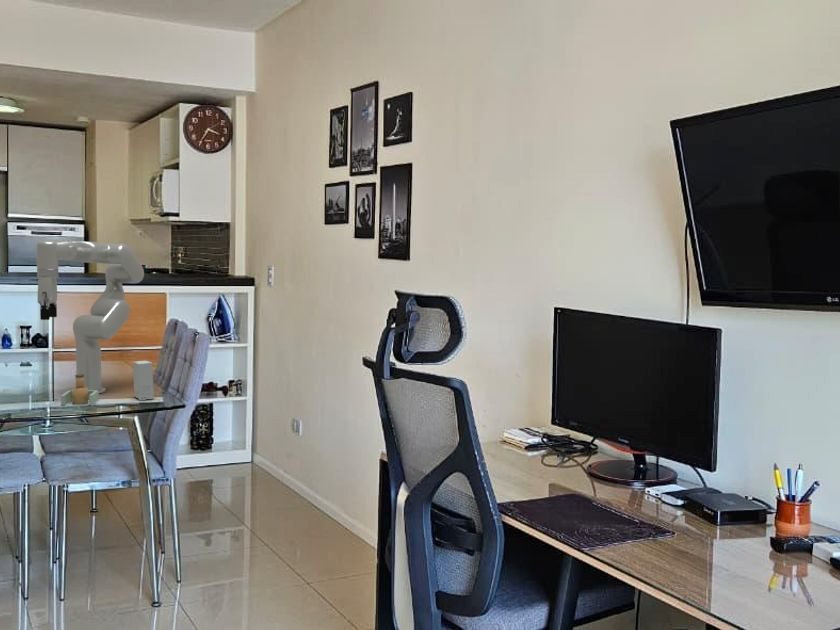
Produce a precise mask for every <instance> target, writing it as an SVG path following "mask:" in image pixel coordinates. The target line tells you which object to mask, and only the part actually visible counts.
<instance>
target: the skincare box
mask: <svg viewBox="0 0 840 630" xmlns="http://www.w3.org/2000/svg"><path fill="white" fill-rule="evenodd" d="M153 369H154V368H153V362H152V361H148V360H139V361H138V360H137V361H132V372H133V373H132V374H133V376H132V377H133V379H132V380H133V394H134V395H133V398H134V397H136V398H138V399H139V401H147V400H146V399H153V400H155V391H154V389H155V388H154V372H153V371H154V370H153ZM136 398H135V399H136ZM138 399H137V400H138Z"/></svg>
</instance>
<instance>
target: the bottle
mask: <svg viewBox="0 0 840 630" xmlns="http://www.w3.org/2000/svg"><path fill="white" fill-rule="evenodd" d="M74 376H75V386H74V387H72V388H71V390H72V399H73V401H72V405H75V404H82V405H86V404H85V403H87V404H89V401H88V387H84V374H75V375H74Z"/></svg>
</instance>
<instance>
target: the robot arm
mask: <svg viewBox="0 0 840 630" xmlns="http://www.w3.org/2000/svg"><path fill="white" fill-rule="evenodd" d="M59 261H68V262H70V261H71V262H75V263H85V264H86V263H87V264H88V263H89V264H108V265H107V266H106V269H105V273H104V275H105V289H104V291H103V292H102V293H101V295H99V297H98V298H97V299H96V300H95V301H94V303H93V304H92V305H91V307H90V312H89V313H90V314H82V315H79V316H78V317H76V318H75V319H74V321H73V323H72V331H73V336H74V341H75V352H76V353H75V361H76V364H75V366H76V368H75V369H76V374H75V375H77V374H84V387H88V390H99V394H103V393H105V392H106V391H107V390H106V388H105V387H103V386H102V349H101V344H100V342H99V341H98V340H101V341H106V340H108V341H109V340H110V339H113V337H114V336H115V335H116V334H117V333H118V332H119V330H121V328H122V327H123V326H124V324H125V322H127V321H128V319H129V317H130V311H131V310H130V309H131V308H130V305H129V303H128V301H126V300H124V299H125V297H126V295H125V290H124V288H123V284H139V283H140V282H142V281H143V279H144V277H145V270H144V267H143V265H142V264H141V262H140V261H139V259H138V258H137V256H136V255H135V254H134V252H133V251H132V249H131V248H130V247H129V246H128V245H126V244H125V243H109V242H99V241H98V242H95V241H70V240H61V239H60V240H57V239H53V240H52V239H51V240H45V241H44V240H42V241H38V242H37V243H36V273H37V274H36V278H38V281H37V282H38V283H37V304H39V305H40V306H39V307H40V308H39V312H40V317H39V318H40V321H41V320H42V321H49V320H50V318H56V317H58V311H57V308H58V307H57V306H58V304H57V301H58V282H57V278H59Z"/></svg>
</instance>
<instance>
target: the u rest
mask: <svg viewBox="0 0 840 630" xmlns="http://www.w3.org/2000/svg"><path fill="white" fill-rule="evenodd" d="M98 399H99V400H100V393H99V390H88V400H89V401H88V405H91V406H90V407H93V406H94V405H95V404H96V403H97V402H96V401H97V400H98ZM70 401H71V402H73V399H72V389H71V390H66V391H65V392H64V393H63V394H61V395H60V403H61V405H60V406H61V407H65V406H67V405H68V404H69V403H71V402H70ZM95 402H96V403H95ZM67 403H68V404H67ZM94 403H95V404H94ZM66 404H67V405H66ZM93 404H94V405H93Z"/></svg>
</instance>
